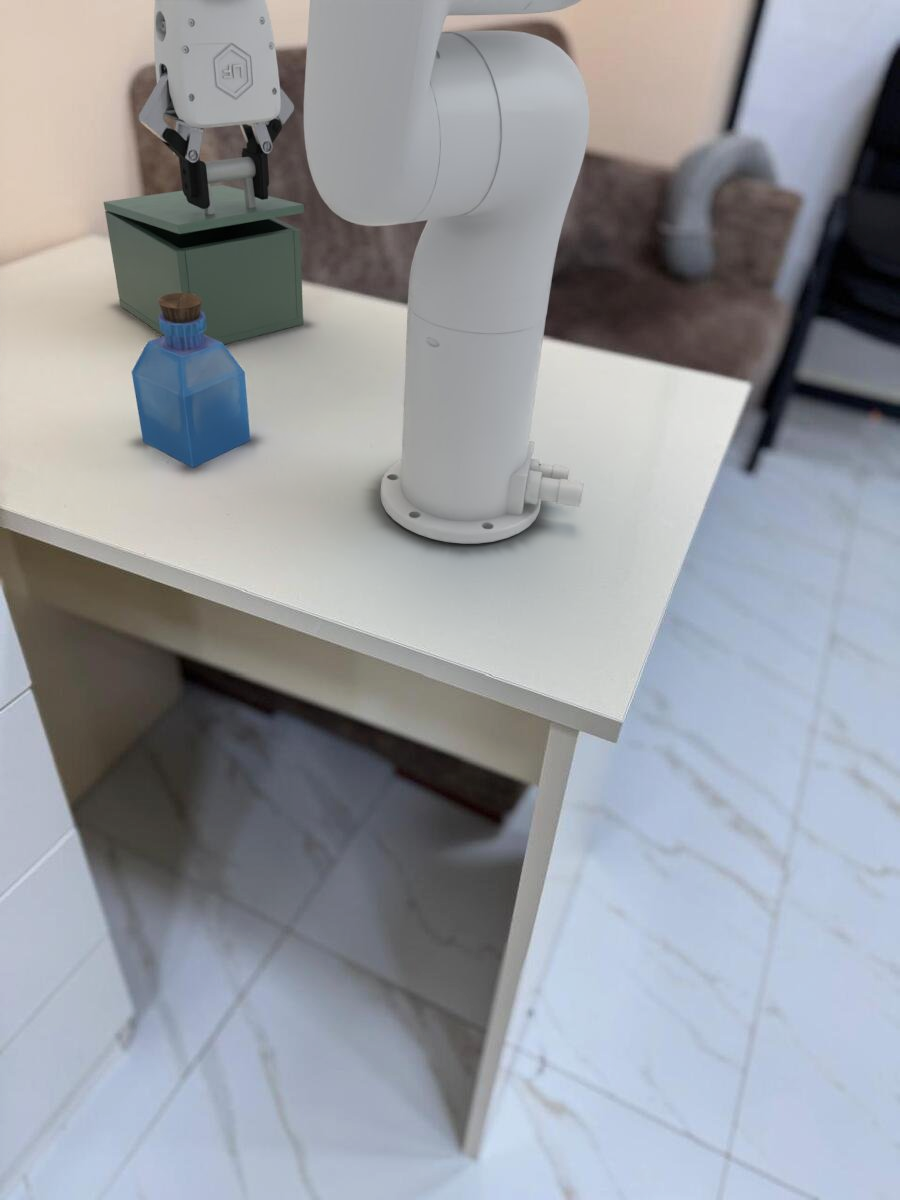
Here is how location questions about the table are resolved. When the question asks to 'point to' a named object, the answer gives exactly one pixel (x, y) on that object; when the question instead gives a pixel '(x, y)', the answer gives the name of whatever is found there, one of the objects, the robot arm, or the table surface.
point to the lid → (224, 202)
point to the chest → (212, 274)
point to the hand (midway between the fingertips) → (228, 198)
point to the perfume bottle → (189, 387)
